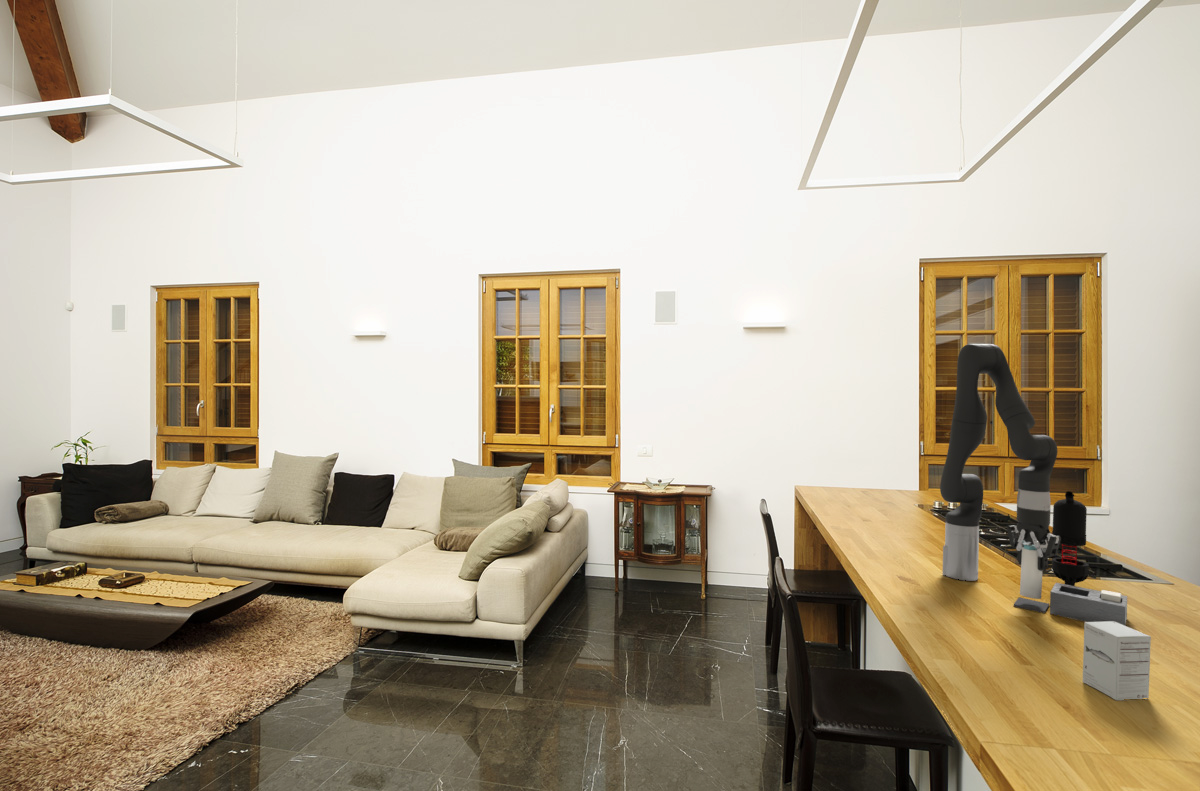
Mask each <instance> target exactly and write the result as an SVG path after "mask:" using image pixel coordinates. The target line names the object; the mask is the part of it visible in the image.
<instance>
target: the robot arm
mask: <svg viewBox="0 0 1200 791" xmlns="http://www.w3.org/2000/svg"><path fill="white" fill-rule="evenodd" d="M956 368H957V369H956V390H955V391H956V392H955V399H954V400H955V401H954V407H953V412H952V418H951V419H952V420H951V425H950V437H949V442H948V449H947V454H946V459H945V462H944V466H943V469H942V470H943V471H942V473H941V478H940V484H939V489H940V490H939V491H940V495H941V497H942V498H943V500H944V501H945V502H947V503H956V504H957V503H959V505H958V506H957V507H956V508H955V509H953V510H951V511H948V512H946V514H945V525H944V526H945V527H944V530H945V534H944V536H945V537H944V538H945V539H944V544H943V546H942V576H945V575H946V576H945V577H948V578H951V579H955V580H958V579H959V580H960V581H965V580H966V581H968V582H971V581H972V582H974V581H977V580H978V579H979V551H980V550H979V546H980V545H979V544H980V542H979V539H980V521H981V518H982V513H983V504H984V503H983V502H984V485H983V481H982V480H981V478H980V477H979V476H978V475H976V474H973V473H964V468H965V465H966V463H967V461H968V459H969V458H970V457H971V455H972V454H973V453H974V452H975V451H976V449H977V448H978V447H979V446H980V445H981V443H982V442H983V440H984V438H985V435H986V431H987V429H986V428H987V423H988V414H987V410H986V407H985V406H984V404H983V402H982V400H981V396H980V395H979V389H978V386H979V376H980V374H982V375H983V374H985V375H988V376H989V377H990V379H991V380H992V382H993V383H994V386H995V400H994V401H995V402H994V403H995V409H996V412H997V413H998V416H999V417H1000V419H1001V420H1002V421H1001V422H1003V425H1004V426H1005V428H1006V430H1007V432H1006V433H1007V436H1008V440H1009V441H1008V442H1009V446H1010V449H1011V451H1012V452H1013V454H1014V455H1015V456H1016V457H1017V458H1019V459H1021V460H1023V461H1030V463H1029V465H1028V466H1027V467H1025V468H1022V469H1020V470H1019V472H1018V485H1017V486H1018V489H1017V497H1016V521H1017V524H1016V525H1007V526H1006V531H1007V535H1008V540H1009V544H1010V546H1011V548H1014V549H1016V551H1017V562H1018V564H1019V565H1021V559H1022V547H1024V545H1031V544H1032V545H1034V546H1035V548H1036V549H1037V551H1038V555H1039V556H1040V557H1038V570H1040V571H1042V572H1043V571H1046V570H1048V568H1049V566H1048V565H1049V557H1056V556H1057V555H1058V554H1057V553H1058V550H1059V547H1060V541H1061V537H1060V536H1055V535H1053V534H1052V532H1051V531H1050V528H1049V527H1050V525H1051V502H1052V501H1051V494H1050V491H1051V490H1050V488H1051V486H1050V485H1051V481H1050V479H1051V475H1052V472H1053V470H1054V466H1055V463H1056V460H1057V457H1058V446H1057V442H1056V441H1055V439H1054V438H1053V437H1051V436H1049V435H1045V434H1031V432H1030V431H1029V430H1031V429H1032V428H1034V427H1035V425H1036V420H1035V418H1034V416H1033V414H1032V413H1031V411H1030V409H1029V408H1028V406H1027V404H1026V403H1025V401H1024V400H1023V398H1022V396H1021V394H1020V392H1019V389H1018V388H1017V385H1016V382H1015V379H1014V376H1013V373H1012V371H1011V368H1010V366H1009V362H1008V360H1007V357H1006V355H1005V353H1004V352H1003V350H1002V348H1001V347H1000V346H999V345H997V344H993V343H967V344H965V345H964V346H962V347H961V349H960V351H959V354H958V356H957V366H956Z"/></svg>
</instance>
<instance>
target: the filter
mask: <svg viewBox="0 0 1200 791" xmlns="http://www.w3.org/2000/svg"><path fill="white" fill-rule="evenodd" d="M1074 497H1075V494H1074V493H1073V491H1071V490H1068V491H1066V492H1065V494H1064V498H1065V499H1059V500H1057V501H1055V502H1054V503H1053V508H1052V512H1053V513H1052V532H1051V534H1053V535H1055V536H1060V537H1061V541H1060V544H1061V548H1062V549H1061V557H1053V558H1051V566H1052V567H1051V568H1052V572H1053V574H1054V576H1055V577H1056V578H1058V580H1059V579H1060V580H1062V581H1063V582H1064V584H1066V585H1071V586H1076V584H1077V583H1081V582H1084V581H1085V580H1087V579H1088V576H1089V570H1090V569H1089V568H1090V565H1089V563H1087V562H1086V561H1082V560H1078V558H1077V556H1078V555H1077V553H1078V551H1077V549H1078V547H1085V546H1086V545H1087V511H1088V510H1087V506H1085V504H1083V503H1082V502H1081V501H1079V500H1075V498H1074ZM1060 544H1059V545H1060ZM1064 547H1067V549H1064ZM1068 547H1069V548H1075V550H1072V549H1069V548H1068ZM1064 553H1067V555H1064ZM1068 554H1071V555H1068ZM1072 554H1073V555H1075V556H1072Z"/></svg>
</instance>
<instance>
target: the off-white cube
mask: <svg viewBox="0 0 1200 791" xmlns="http://www.w3.org/2000/svg"><path fill="white" fill-rule="evenodd" d="M1100 591H1101V599H1106V600H1111V601H1116V602H1121V595H1122V593H1121V592H1117V591H1110V590H1105V589H1101V590H1100Z"/></svg>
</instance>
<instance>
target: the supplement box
mask: <svg viewBox="0 0 1200 791" xmlns="http://www.w3.org/2000/svg"><path fill="white" fill-rule="evenodd" d="M1083 630H1084V631H1083V654H1082V655H1083V656H1082V682H1083V683H1084V684H1087V685H1088V686H1090V687H1091V688H1094V689H1096V690H1098V691H1100V692H1101V693H1103V694H1105V695H1106V696H1108V697H1110V698H1112V699H1113V700H1115V701H1125V700H1124V699H1143V698H1149V696H1150V695H1149V694H1150V673H1151V672H1150V670H1151V668H1150V667H1151V640H1152V636H1151V635H1148V634H1145V633H1143V632H1141V631H1140V630H1139V631H1138V630H1136V629H1134V628H1132V627H1130V626H1124V625H1122V624H1120V623H1117V622H1114V621H1105V622H1084V628H1083Z"/></svg>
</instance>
